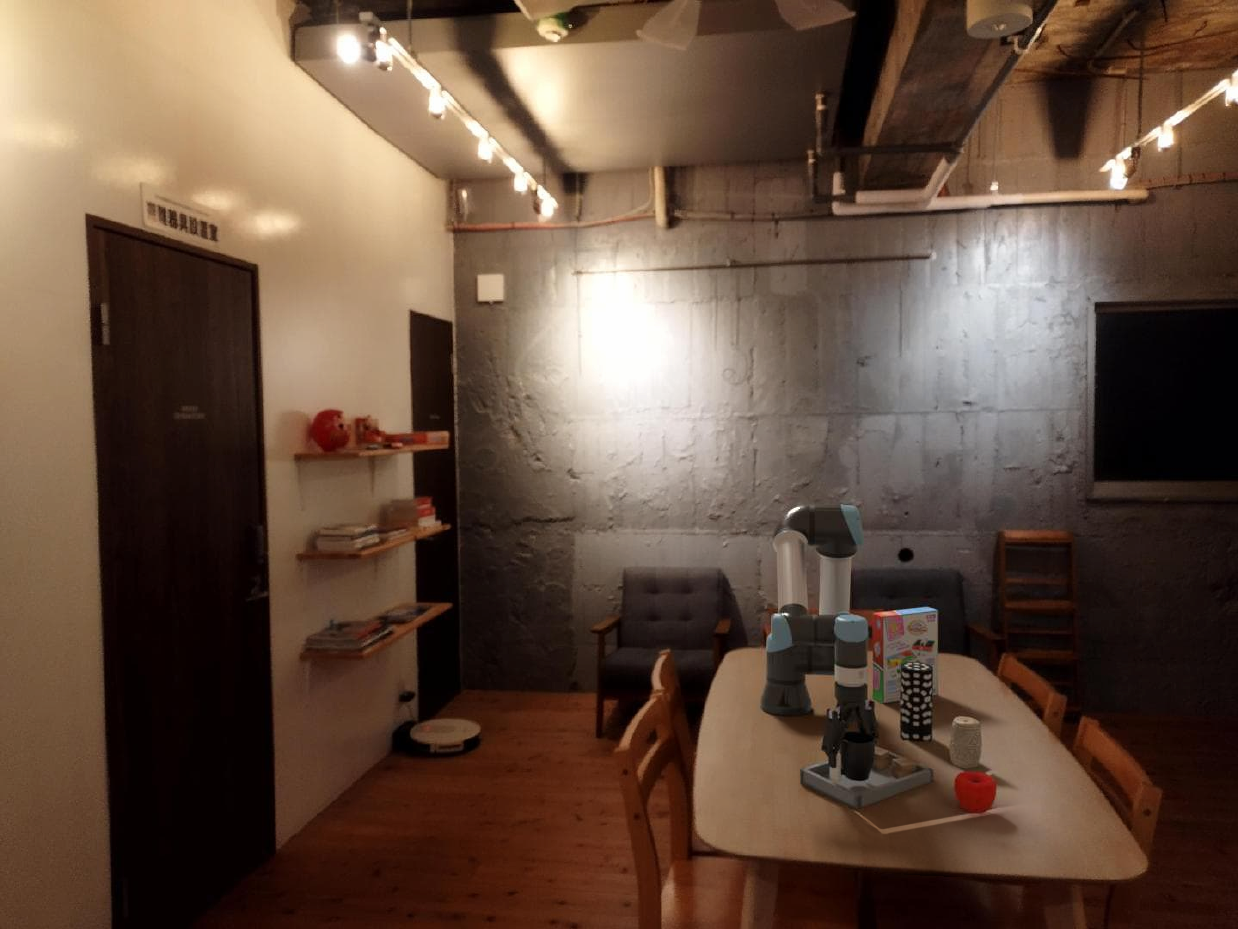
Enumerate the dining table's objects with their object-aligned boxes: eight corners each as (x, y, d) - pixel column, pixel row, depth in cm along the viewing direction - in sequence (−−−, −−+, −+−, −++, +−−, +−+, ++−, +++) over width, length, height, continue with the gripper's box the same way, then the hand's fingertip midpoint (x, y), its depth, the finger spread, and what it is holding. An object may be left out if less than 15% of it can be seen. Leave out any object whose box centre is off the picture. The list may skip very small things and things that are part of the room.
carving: (982, 773, 212) (982, 725, 211) (949, 769, 214) (949, 722, 214) (981, 763, 218) (981, 717, 217) (949, 759, 220) (949, 713, 220)
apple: (974, 823, 187) (975, 788, 186) (944, 806, 195) (944, 772, 194) (1005, 815, 190) (1005, 780, 190) (974, 799, 198) (974, 765, 198)
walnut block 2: (891, 775, 209) (891, 759, 209) (905, 773, 211) (905, 757, 210) (901, 782, 206) (901, 766, 205) (916, 780, 207) (916, 763, 207)
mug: (820, 768, 208) (820, 730, 208) (870, 769, 207) (871, 730, 207) (825, 783, 200) (825, 743, 200) (878, 784, 199) (878, 744, 199)
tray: (800, 783, 208) (800, 769, 207) (874, 758, 222) (874, 745, 221) (857, 812, 192) (857, 796, 192) (933, 783, 206) (933, 769, 206)
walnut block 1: (866, 766, 215) (866, 750, 215) (874, 761, 218) (874, 746, 217) (880, 771, 212) (880, 755, 212) (889, 766, 215) (889, 750, 214)
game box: (927, 690, 274) (928, 606, 272) (938, 696, 269) (939, 610, 267) (871, 698, 268) (871, 612, 266) (882, 704, 262) (882, 616, 261)
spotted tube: (931, 734, 237) (932, 663, 236) (932, 746, 229) (933, 672, 228) (900, 731, 240) (900, 660, 239) (899, 742, 232) (900, 669, 231)
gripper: (828, 695, 193) (828, 792, 195) (895, 677, 205) (895, 769, 207) (804, 686, 200) (804, 780, 201) (871, 670, 212) (870, 759, 213)
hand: (850, 775), depth 204 cm, fingers closed on mug, 10 cm apart
